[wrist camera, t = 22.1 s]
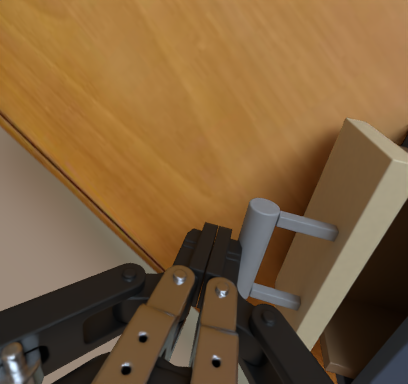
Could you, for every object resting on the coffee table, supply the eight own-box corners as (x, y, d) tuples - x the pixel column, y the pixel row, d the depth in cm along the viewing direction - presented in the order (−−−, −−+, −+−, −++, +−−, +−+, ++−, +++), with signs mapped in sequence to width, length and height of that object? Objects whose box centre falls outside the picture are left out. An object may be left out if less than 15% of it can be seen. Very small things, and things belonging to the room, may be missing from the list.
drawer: (223, 267, 23) (207, 345, 17) (272, 100, 16) (273, 131, 10) (450, 333, 21) (523, 447, 15) (610, 175, 14) (857, 267, 8)
